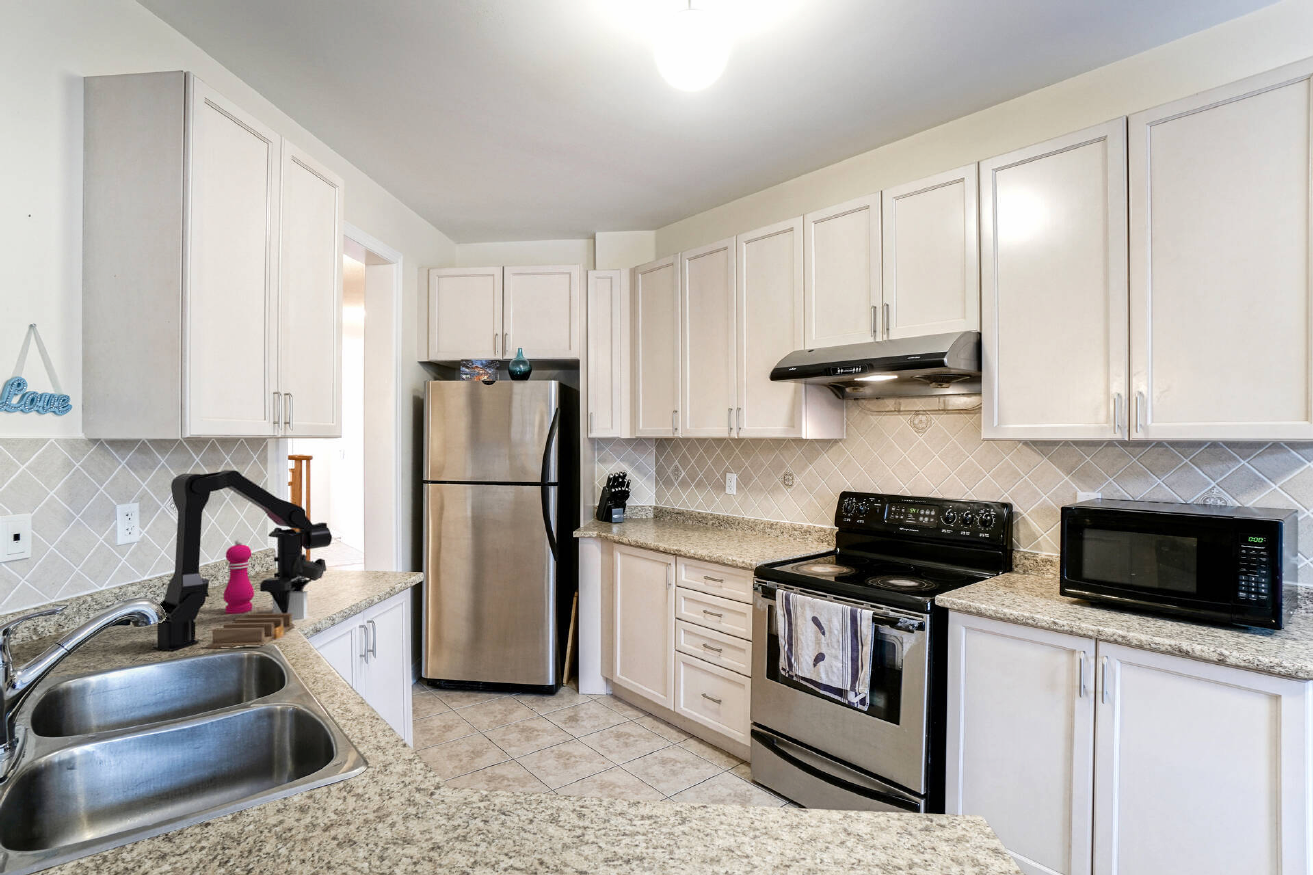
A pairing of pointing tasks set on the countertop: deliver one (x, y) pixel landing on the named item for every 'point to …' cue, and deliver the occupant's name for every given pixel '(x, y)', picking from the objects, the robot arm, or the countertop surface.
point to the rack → (252, 630)
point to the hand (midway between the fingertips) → (290, 610)
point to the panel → (295, 605)
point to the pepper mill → (238, 580)
